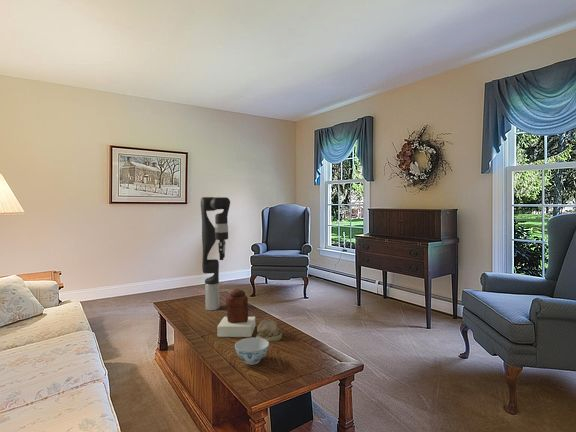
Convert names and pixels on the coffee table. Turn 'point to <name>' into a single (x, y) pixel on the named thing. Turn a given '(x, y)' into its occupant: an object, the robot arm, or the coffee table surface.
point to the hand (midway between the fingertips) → (222, 258)
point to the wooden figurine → (237, 306)
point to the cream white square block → (236, 328)
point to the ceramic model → (268, 330)
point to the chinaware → (252, 349)
